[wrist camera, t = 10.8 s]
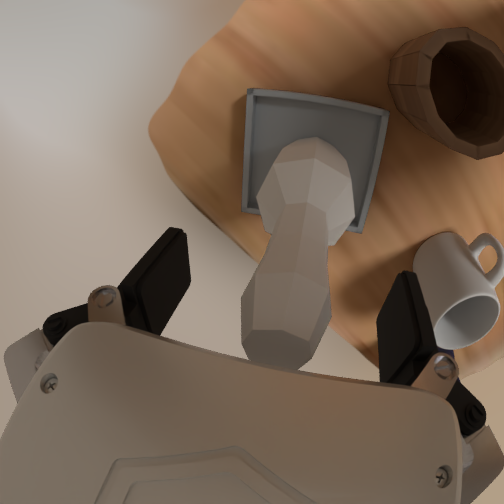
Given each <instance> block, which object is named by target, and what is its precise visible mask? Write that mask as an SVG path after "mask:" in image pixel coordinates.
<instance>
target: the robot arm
mask: <svg viewBox="0 0 504 504" xmlns="http://www.w3.org/2000/svg"><path fill="white" fill-rule="evenodd" d="M190 282H191V275H190V266H189V255H188V245H187V235H186V233H184V232H183V230H182V229H179V228H173V227H169V228H168V229H167V230H166V231H165V233H164V234H163V235H162V236H161V237H160V238H159V239H158V240H157V241H156V242H155V244H154V245H153V246H152V247H151V248H150V249H149V250H148V251H147V253H146V254H145V255H144V256H143V257H142V258H141V259H140V261H139V262H138V263H137V264H136V265H135V266H134V268H133V269H132V270H131V271H130V272H129V274H128V275H127V276H126V277H125V278H124V279H123V281H122V282H121V283H120V285H119V286H118V287H117V288H116V287H114V286H110V285H106V286H101V287H98V288H97V289H95V290H93V291H92V293H91V294H90V296H89V297H88V303H86V304H83V305H80V306H77V307H74V308H71V309H67V310H64V311H61V312H58V313H55V314H53V315H51V316H50V317H48V318H47V319H46V321H45V322H44V324H43V329H42V330H40V329H39V328H38V329H36V330H34V331H33V332H31V333H29V334H28V335H26V336H25V337H23V338H21V339H20V340H18V341H16V342H15V343H13V344H12V345H10V346H9V347H8V348H7V350H6V351H5V354H4V362H5V366H6V369H7V373H8V376H9V380H10V383H11V386H12V389H13V392H14V395H15V398H16V400H17V406H16V408H15V410H14V412H13V414H12V416H11V418H10V420H9V422H8V424H7V426H6V428H5V430H4V432H3V434H2V437H1V439H0V504H470V503H472V502H473V500H475V499H476V498H477V497H478V496H479V495H480V494H481V493H482V492H483V491H484V490H485V489H486V488H487V487H488V486H489V485H490V484H491V483H492V482H493V480H494V479H495V478H496V477H497V476H498V475H499V474H500V472H501V471H502V470H503V467H504V455H503V453H502V451H501V449H500V447H499V444H498V442H497V440H496V438H495V436H494V434H493V433H492V431H491V429H490V427H489V426H487V427H486V426H485V421H486V411H485V408H484V406H483V405H482V404H481V403H480V402H479V401H478V400H477V399H476V398H475V397H474V396H473V395H472V394H471V393H470V392H469V391H468V390H467V389H466V388H465V387H464V386H463V385H462V384H461V383H460V382H459V381H458V380H457V378H458V375H459V368H458V365H457V363H456V361H455V360H454V359H453V358H452V357H451V356H450V355H448V354H446V353H439V352H438V348H437V343H436V339H435V334H434V330H433V326H432V322H431V318H430V315H429V311H428V308H427V306H426V304H425V300H424V297H423V293H422V290H421V287H420V284H419V280H418V277H417V274H416V273H414V272H409V271H403V272H402V273H399V274H398V275H397V277H396V279H395V281H394V284H393V286H392V288H391V290H390V292H389V294H388V296H387V298H386V300H385V302H384V304H383V306H382V308H381V310H380V312H379V314H378V317H377V321H376V325H377V337H378V352H379V373H380V382H373V381H365V380H358V379H351V378H343V377H336V376H329V375H322V374H317V373H310V372H305V371H300V370H294V369H289V368H284V367H279V366H274V365H269V364H264V363H260V362H255V361H251V360H246V359H242V358H238V357H234V356H230V355H226V354H222V353H218V352H214V351H211V350H207V349H203V348H200V347H196V346H192V345H189V344H186V343H182V342H179V341H175V340H172V339H169V338H165V337H162V336H160V335H161V333H162V331H163V329H164V328H165V326H166V324H167V323H168V321H169V319H170V318H171V316H172V314H173V312H174V311H175V309H176V308H177V306H178V304H179V302H180V301H181V299H182V298H183V296H184V294H185V292H186V291H187V289H188V288H189V286H190Z"/></svg>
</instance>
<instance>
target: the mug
mask: <svg viewBox="0 0 504 504" xmlns="http://www.w3.org/2000/svg"><path fill="white" fill-rule="evenodd" d="M487 245H491V246H493V247H494V249H495V250H496V253H497V256H498V259H497V263H496V265H495V266H494V267H493V269H492V270H490V271H489V272H488V273H486V274H485V272H484V271H483V269H482V267H481V265H480V263H479V260H478V256H479V254H480V252H481V251H482V250H483V248H484V247H486V246H487ZM413 272H414V273H416V274H417V277H418V280H419V284H420V287H421V290H422V293H423V297H424V300H425V304H426V306H427V308H428V311H429V315H430V318H431V322H432V326H433V330H434V334H435V339H436V343H437V346H438V347H440V348H443V349H448V350H454V349H460V348H464V347H467V346H469V345H471V344H473V343H475V342H477V341H478V340H480V339H481V338H483V337H484V336H485V335H486V334H487V333H488V332H489V331H490V330H491V329H492V328H493V326H494V325H495V323H496V321H497V319H498V317H499V313H500V303H499V300H498V297H497V295H496V292H495V287H496V285H497V284H498V283H499V282H500V280H501V279H502V278H503V276H504V248H503V247H502V245H501V243H500V242H499V241H498V240H497V239H496V238H495V237H494V236H492V235H491V234H488V233H482V234H480V235H479V236H478V237H477V238H476V239H475V240H474V241H473V242H472V243H471V244H470V245H468V243H467V242H466V241H465V239H464V238H462V237H461V236H460V235H458V234H455V233H451V232H445V233H440V234H437V235H434V236H432V237H431V238H429V239H428V240H426V241H425V242H424V243H423V244H422V245H421V246H420V248H419V249H418V251H417V252H416V254H415V257H414V260H413Z"/></svg>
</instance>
